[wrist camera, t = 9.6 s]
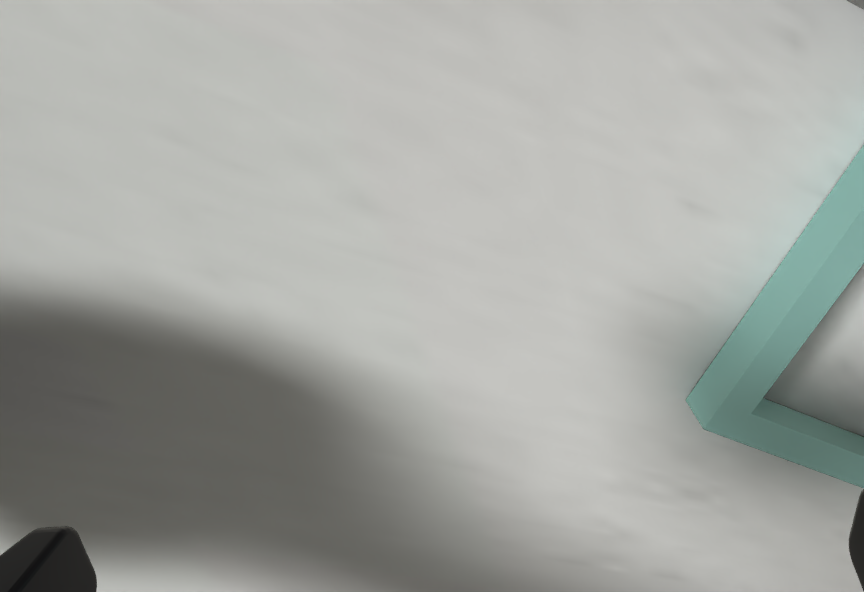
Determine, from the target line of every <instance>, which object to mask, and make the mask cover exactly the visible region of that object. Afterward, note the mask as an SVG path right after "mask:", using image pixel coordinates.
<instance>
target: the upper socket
mask: <svg viewBox="0 0 864 592" xmlns="http://www.w3.org/2000/svg"><path fill="white" fill-rule="evenodd" d="M848 1H850V2H852V3H853V4H855V5H857V6H859V7H861V8H862V9H864V0H848Z"/></svg>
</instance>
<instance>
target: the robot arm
mask: <svg viewBox="0 0 864 592" xmlns="http://www.w3.org/2000/svg"><path fill="white" fill-rule="evenodd" d="M849 551H850V556H851V559H852V562H853V565H854V568H855V570H856V573H857V575H858V578H859V580H860V583H861V586H862V588H863V591H864V489H863V491H862V492H861V494H860V497H859V500H858V504H857V508H856V512H855V516H854V520H853V524H852V528H851V532H850V536H849ZM96 588H97V580H96V574H95V571H94V569H93V566H92V564H91V562H90V559H89V557H88V555H87V553H86V550H85V548H84V546H83V544H82V541H81V539H80V537H79V535H78V533H77V531H75V530H74V529H73V528H72V527H67V526H65V527H46V528H39V529H36V530H34V531H32V532H31V533H29V534H28V535H26V536H25V537H24V538H23V539H21V540H20V541H19V542H17V543H16V544H15V545H13V546H12V547H11V548H10V549H8V550H7V551H6V552H4V553H3V554H2V555H0V592H96Z"/></svg>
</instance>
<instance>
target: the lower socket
mask: <svg viewBox="0 0 864 592" xmlns="http://www.w3.org/2000/svg"><path fill="white" fill-rule="evenodd" d="M863 263H864V145H863V147H862V148H861V149H860V151H859V152H858V154H857V155H856V157H855V158H854V159H853V161H852V162H851V164H850V165H849V167H848V168H847V170H846V171H845V172H844V174H843V175H842V177H841V178H840V180H839V181H838V182H837V184H836V185H835V187H834V188H833V190H832V191H831V192H830V194H829V195H828V197H827V198H826V200H825V201H824V202H823V204H822V205H821V207H820V208H819V210H818V211H817V213H816V214H815V215H814V217H813V218H812V220H811V221H810V223H809V224H808V225H807V227H806V228H805V230H804V231H803V233H802V234H801V235H800V237H799V238H798V240H797V241H796V243H795V244H794V245H793V247H792V248H791V250H790V251H789V253H788V254H787V256H786V257H785V258H784V260H783V261H782V263H781V264H780V266H779V267H778V268H777V270H776V271H775V273H774V274H773V276H772V277H771V278H770V280H769V281H768V283H767V284H766V286H765V287H764V288H763V290H762V291H761V293H760V294H759V296H758V297H757V299H756V300H755V301H754V303H753V304H752V306H751V307H750V309H749V310H748V311H747V313H746V314H745V316H744V317H743V319H742V320H741V321H740V323H739V324H738V326H737V327H736V329H735V330H734V332H733V333H732V334H731V336H730V337H729V339H728V340H727V342H726V343H725V344H724V346H723V347H722V349H721V350H720V352H719V353H718V354H717V356H716V357H715V359H714V360H713V362H712V363H711V364H710V366H709V367H708V369H707V370H706V372H705V373H704V375H703V376H702V377H701V379H700V380H699V382H698V383H697V385H696V386H695V387H694V389H693V390H692V392H691V393H690V395H689V396H688V397H687V399H686V402H687V403H688V405H689V406H690V408H691V410H692V411H693V413H694V415H695V416H696V418H697V419H698V421H699V423H700V424H701V426H702V427H703V429H704V430H707V431H710V432H713V433H715V434H718V435H721V436H723V437H726V438H729V439H731V440H734V441H737V442H740V443H742V444H745V445H748V446H750V447H753V448H756V449H759V450H761V451H764V452H767V453H769V454H772V455H775V456H778V457H780V458H783V459H786V460H788V461H791V462H794V463H797V464H799V465H802V466H805V467H807V468H810V469H813V470H816V471H818V472H821V473H824V474H826V475H829V476H832V477H835V478H837V479H840V480H843V481H845V482H848V483H851V484H854V485H856V486H859V487H862V488H864V437H862V436H859V435H857V434H854V433H852V432H849V431H847V430H844V429H841V428H839V427H836V426H834V425H831V424H829V423H826V422H823V421H821V420H818V419H816V418H813V417H810V416H808V415H805V414H803V413H800V412H798V411H795V410H792V409H790V408H787V407H785V406H782V405H780V404H777V403H774V402H772V401H769V400H767V399H764V398H763V397H764V396H765V394H766V393H767V392H768V390H769V389H770V388H771V386H772V385H773V384H774V382H775V381H776V380H777V378H778V377H779V376H780V374H781V373H782V372H783V370H784V369H785V368H786V366H787V365H788V364H789V362H790V361H791V360H792V358H793V357H794V356H795V354H796V353H797V352H798V350H799V349H800V348H801V346H802V345H803V344H804V342H805V341H806V340H807V338H808V337H809V336H810V334H811V333H812V332H813V330H814V329H815V328H816V326H817V325H818V324H819V322H820V321H821V320H822V318H823V317H824V316H825V314H826V313H827V312H828V310H829V309H830V308H831V306H832V305H833V304H834V302H835V301H836V300H837V298H838V297H839V296H840V294H841V293H842V292H843V290H844V289H845V288H846V286H847V285H848V284H849V282H850V281H851V280H852V278H853V277H854V276H855V274H856V273H857V272H858V270H859V269H860V268H861V266H862V265H863Z"/></svg>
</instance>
